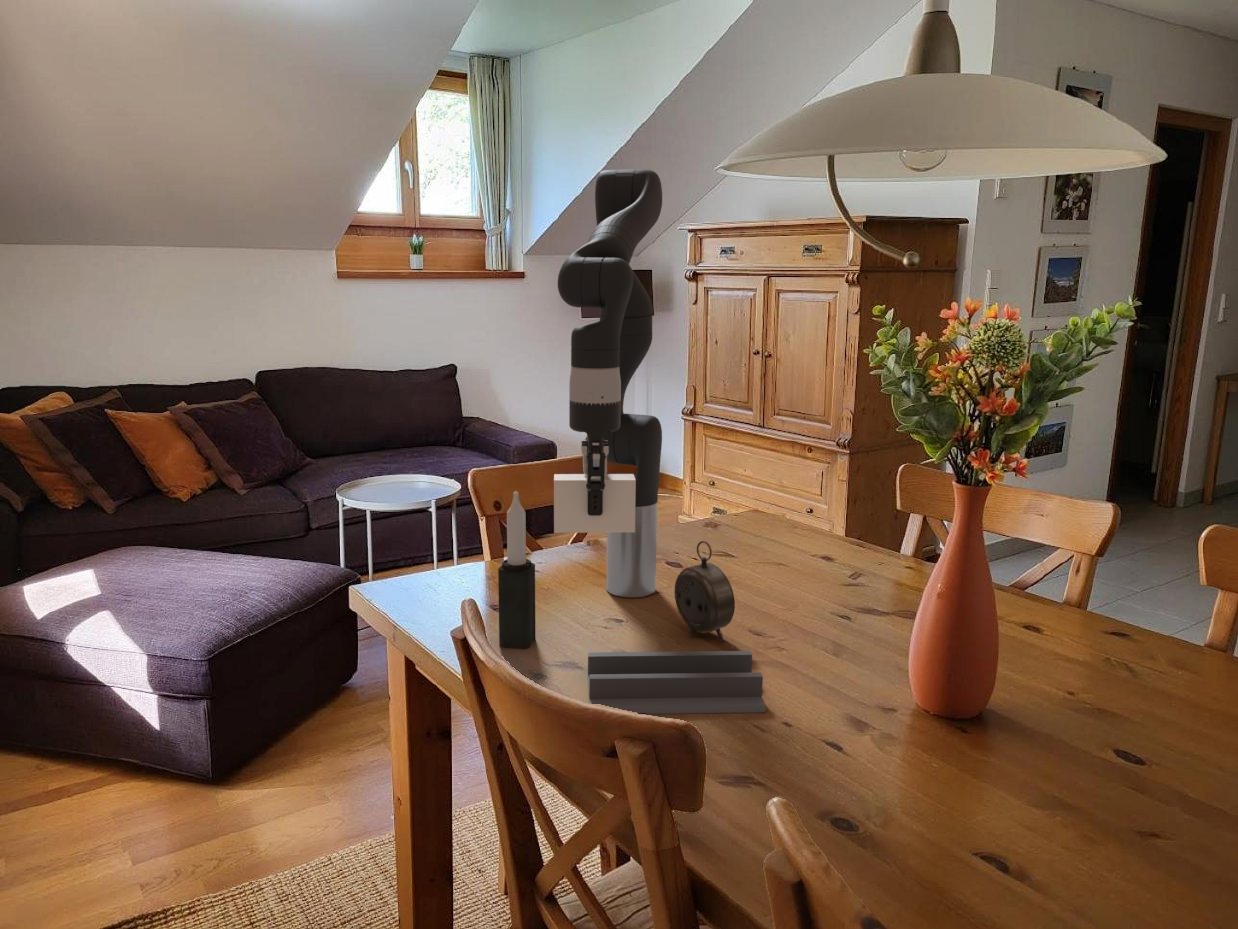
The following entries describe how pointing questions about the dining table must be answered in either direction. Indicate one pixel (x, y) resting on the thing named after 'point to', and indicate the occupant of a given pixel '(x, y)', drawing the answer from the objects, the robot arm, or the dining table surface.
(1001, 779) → the dining table surface
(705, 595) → the alarm clock
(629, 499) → the white rectangular block
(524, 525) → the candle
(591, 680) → the door track
